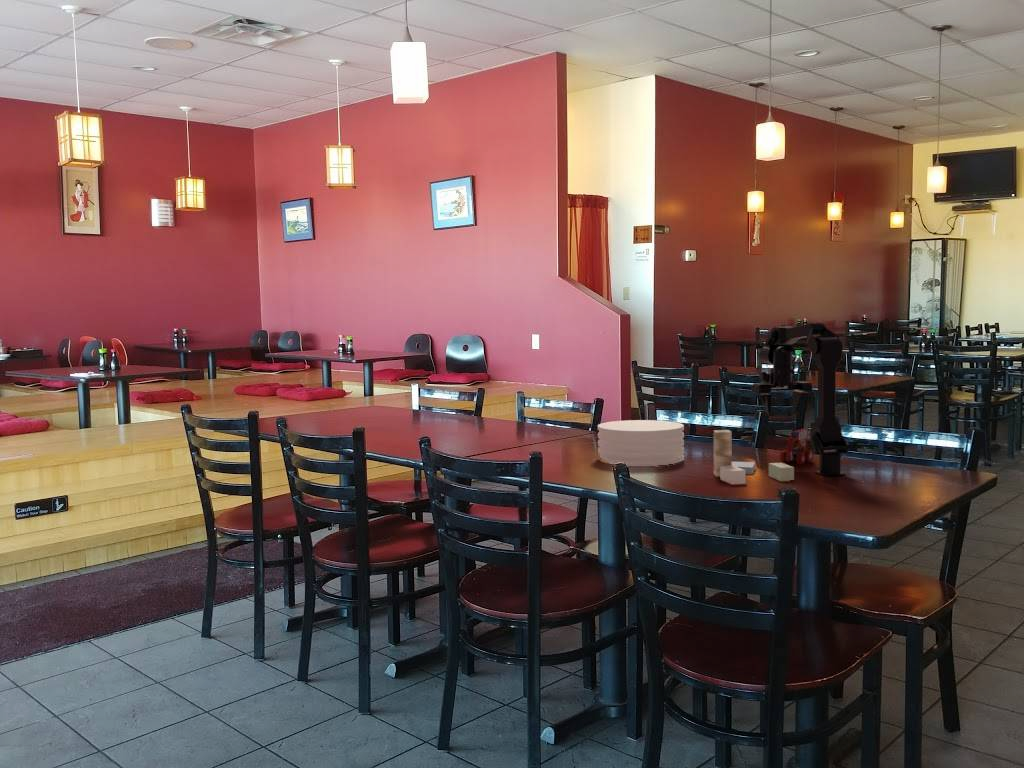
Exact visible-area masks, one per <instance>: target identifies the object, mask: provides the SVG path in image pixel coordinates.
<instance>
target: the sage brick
mask: <svg viewBox="0 0 1024 768" xmlns="http://www.w3.org/2000/svg"><path fill="white" fill-rule="evenodd" d="M768 477H770V478H772V479H774V480H777V481H779V482H791V481H790V480H794V481H795V467H794V466H791V465H789V464H787V463H782V462H769V463H768Z"/></svg>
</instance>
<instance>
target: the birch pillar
mask: <svg viewBox="0 0 1024 768" xmlns="http://www.w3.org/2000/svg"><path fill="white" fill-rule="evenodd" d="M732 435H733V433H732V431H731V430H729V429H722V430H721V429H719V430H717V429H715V430H713V475H714V476H715V477H720V466H732V462H733V461H732V460H733V459H732V457H733V456H732V454H733V453H732V451H733V450H732V449H733V448H732V443H733V442H732V440H733V439H732Z"/></svg>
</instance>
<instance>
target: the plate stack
mask: <svg viewBox="0 0 1024 768" xmlns="http://www.w3.org/2000/svg"><path fill="white" fill-rule="evenodd" d="M684 430H685V425H684V424H683V423H680V422H676V421H669V420H657V419H652V420H651V419H644V420H643V419H636V420H633V419H628V420H613V421H607V422H602V423H599V424H597V431H598V432H597V438H598V440H597V446H598V448H597V453H598V455H600V457H601V458H603V460H606V461H610V462H614V463H618V462H624V463H626V464H627V465H628V466H627V467H629V466H655V467H659V466H658V465H667V466H669V465H668V464H673V465H675V464H674V463H678V462H681V461H683V460H684V461H685V455H684V453H685V447H684V446H685V441H684V438H685V433H684ZM684 461H683V462H684ZM614 463H613V464H614ZM681 463H682V462H681ZM678 464H679V463H678Z"/></svg>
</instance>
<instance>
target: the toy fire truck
mask: <svg viewBox="0 0 1024 768" xmlns="http://www.w3.org/2000/svg"><path fill="white" fill-rule="evenodd" d="M808 433H809V432H808V429H807V428H802V429H798V430H797V429H796V430H793V431H791V432H790V437H788V440H787V445H786V449H783V450H781V452H780V454H779V455H780V456H779V460H780V463H784V464H787V463H788V462H793V463H795V462H796V464H797V465H799V464H803V465H804V464H805V463H808V462H810V463H812V461H813V458H814V453H813V450H812V449H807V447H808V445H807V444H808V435H809V434H808Z"/></svg>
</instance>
